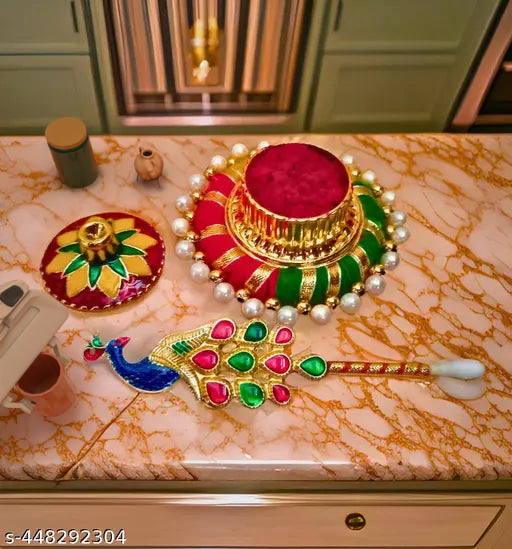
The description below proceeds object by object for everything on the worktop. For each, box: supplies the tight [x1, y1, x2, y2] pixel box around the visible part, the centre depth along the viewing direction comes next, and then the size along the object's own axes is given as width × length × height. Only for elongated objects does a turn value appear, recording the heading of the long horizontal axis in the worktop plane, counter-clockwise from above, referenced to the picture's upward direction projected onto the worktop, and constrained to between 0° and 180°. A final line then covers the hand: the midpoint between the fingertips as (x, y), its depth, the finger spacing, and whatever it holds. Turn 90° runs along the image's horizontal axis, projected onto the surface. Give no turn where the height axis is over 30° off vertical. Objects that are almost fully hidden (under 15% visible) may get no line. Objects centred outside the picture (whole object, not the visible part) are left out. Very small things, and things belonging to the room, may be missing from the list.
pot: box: [133, 146, 165, 188], centre depth 118 cm, size 6×8×6 cm
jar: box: [44, 116, 100, 189], centre depth 116 cm, size 8×8×12 cm
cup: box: [14, 351, 78, 418], centre depth 86 cm, size 7×7×9 cm
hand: (49, 385), depth 85 cm, fingers closed on cup, 7 cm apart
